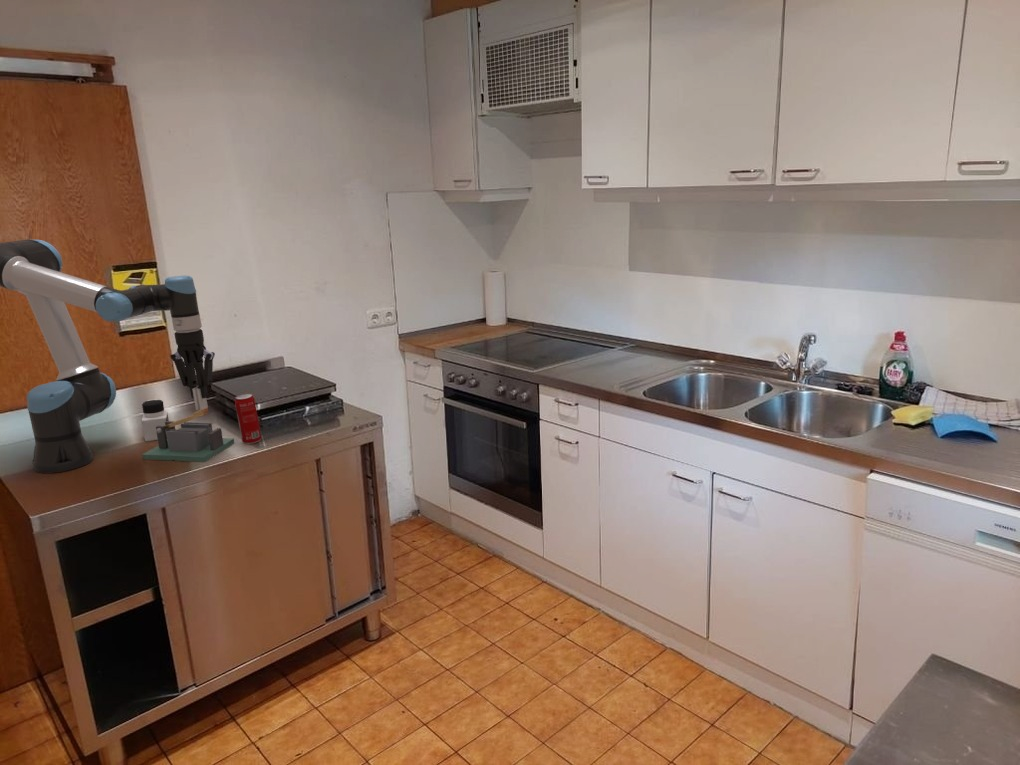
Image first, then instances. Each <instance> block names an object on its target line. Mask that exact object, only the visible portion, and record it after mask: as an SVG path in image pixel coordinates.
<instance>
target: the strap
mask: <svg viewBox="0 0 1020 765" xmlns="http://www.w3.org/2000/svg"><path fill="white" fill-rule="evenodd" d="M208 414H209V406H208V407H207V408H205V409H203V410H200V409H199V410H196V411H195V412H193V413H192V414H191V415H189V416H186V417H183V418H181V419H178V420H176V421H174V422H173V423H170V424H167V425H165V429H168V428H171V427H173V426H175V427H176V426H179V425H181V424H182V423H183V424H184V422H190V421H192V420H195V419H197V418H200V417H202V416H205V415H208Z"/></svg>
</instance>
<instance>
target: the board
mask: <svg viewBox="0 0 1020 765" xmlns="http://www.w3.org/2000/svg"><path fill="white" fill-rule="evenodd" d="M173 422H175V421H173V420H171V421H170V420H169V421H166V422H165V425H167V424H170V423H173ZM212 425H213V424H212V422H195V421H194V422H193V421H187V422H184V423H181V424H180V427H179V428H178V429H176V426H173V427H171V428H168V429H165V426H156V432H157V438H158V440H157V444H158V445H157V446H155V447H153V448H151V449H150V450H147V452H144V453H142V459H143V460H152V461H154V460H155V461H170V462H171V461H172V460H175V461H174V462H193V461H198V462H199V463H206V462H207V461H209V460H210V459H212V458H213V456H214V457H216V454H217V455H218V454H220V453H221V452H223V451H224V450H226V449H227V448H229V447H231V446H232V445H234V444H235V438H227V437H226V438H225V437H223V433H222V432H223V431H222V427H221V428H220V427H219V428H218V427H217V428H215V429H213V426H212ZM166 432H167V435H166Z"/></svg>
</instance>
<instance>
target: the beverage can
mask: <svg viewBox="0 0 1020 765" xmlns="http://www.w3.org/2000/svg"><path fill="white" fill-rule="evenodd" d="M234 399H235V400H234V405H235V406H234V407H235V409H236V416H237V421H238V427H239V430H240V438H241V441H242V443H243V444H245V445H246V444H247V445H251V444H256V443H259V442H260V441H261V440H262V433H261V429H260V422H259V417H258V412H257V406H256V400H255V397H254V395H253V394H252V393H241V394H238V395H236V396H235V398H234Z"/></svg>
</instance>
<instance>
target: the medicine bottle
mask: <svg viewBox="0 0 1020 765" xmlns="http://www.w3.org/2000/svg"><path fill="white" fill-rule="evenodd" d="M141 407H142V412H143V415H142V418H141V426H142V433H143V439H144V441H145V442H152V441H158V438H157V432H156V426H165V422H166V421H170V419H169V415H168V411H165V406H164V401H163V400H161V399H158V398H157V399H156V398H155V399H148V400H146V401H144V402H143V403H142V404H141ZM166 435H167V432H166Z"/></svg>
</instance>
